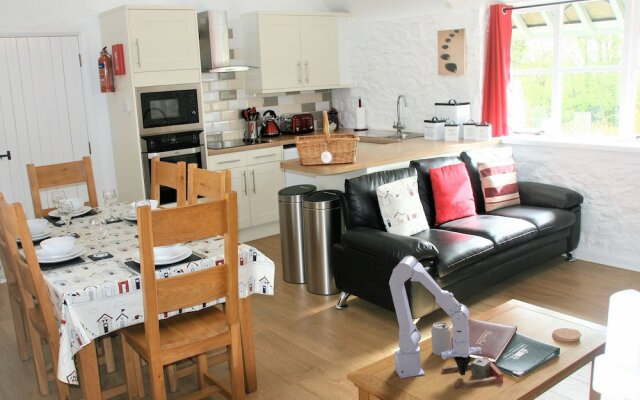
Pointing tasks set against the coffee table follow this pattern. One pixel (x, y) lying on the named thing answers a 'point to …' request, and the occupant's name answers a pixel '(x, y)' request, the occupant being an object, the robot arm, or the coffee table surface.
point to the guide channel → (494, 371)
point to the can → (441, 338)
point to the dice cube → (481, 368)
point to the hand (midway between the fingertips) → (462, 374)
